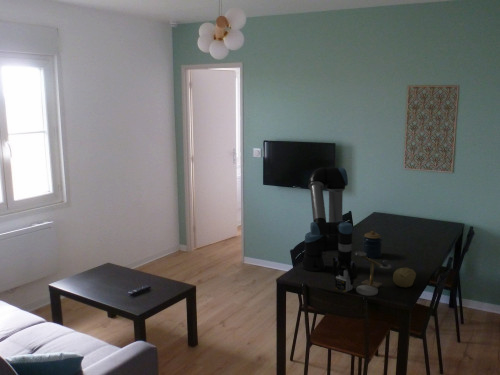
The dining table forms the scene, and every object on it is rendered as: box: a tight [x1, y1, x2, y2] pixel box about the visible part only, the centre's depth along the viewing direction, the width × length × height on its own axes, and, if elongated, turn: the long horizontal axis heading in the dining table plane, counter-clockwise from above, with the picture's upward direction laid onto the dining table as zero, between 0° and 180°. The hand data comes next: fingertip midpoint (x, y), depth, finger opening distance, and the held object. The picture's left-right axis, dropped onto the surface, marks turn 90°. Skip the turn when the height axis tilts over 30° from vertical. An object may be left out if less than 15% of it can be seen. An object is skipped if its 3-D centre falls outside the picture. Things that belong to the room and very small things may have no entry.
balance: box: [353, 250, 392, 290], centre depth 272 cm, size 22×7×18 cm, turn 51°
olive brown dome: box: [392, 267, 417, 289], centre depth 272 cm, size 12×12×11 cm
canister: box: [362, 230, 383, 259], centre depth 322 cm, size 13×13×18 cm
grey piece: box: [334, 267, 350, 293], centre depth 268 cm, size 7×7×12 cm
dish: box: [355, 284, 379, 297], centre depth 265 cm, size 12×12×1 cm
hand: (343, 287), depth 269 cm, fingers closed on grey piece, 7 cm apart
